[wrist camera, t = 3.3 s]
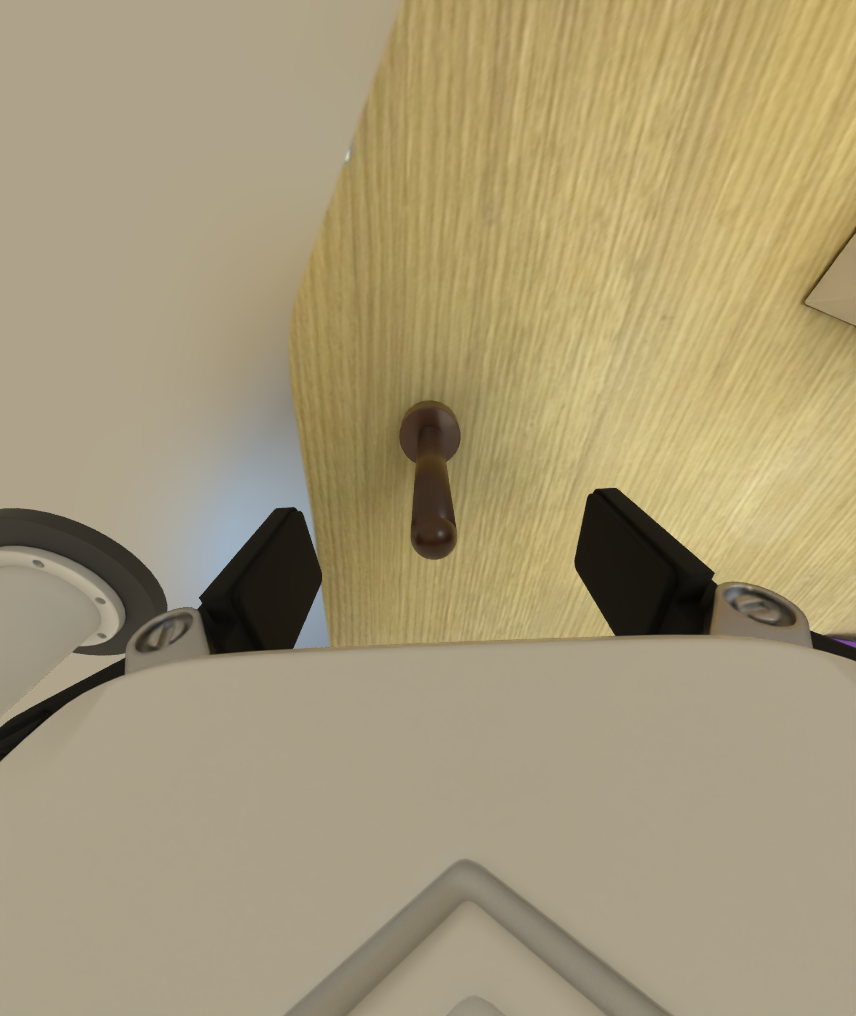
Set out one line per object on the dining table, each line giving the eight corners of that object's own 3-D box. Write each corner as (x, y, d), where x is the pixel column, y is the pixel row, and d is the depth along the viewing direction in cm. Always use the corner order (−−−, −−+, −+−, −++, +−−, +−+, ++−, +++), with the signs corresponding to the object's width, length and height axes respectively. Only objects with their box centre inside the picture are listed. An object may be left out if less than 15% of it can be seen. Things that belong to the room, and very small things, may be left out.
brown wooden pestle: (404, 458, 23) (381, 598, 11) (398, 402, 21) (361, 500, 9) (458, 454, 23) (494, 592, 11) (457, 398, 21) (499, 490, 9)
